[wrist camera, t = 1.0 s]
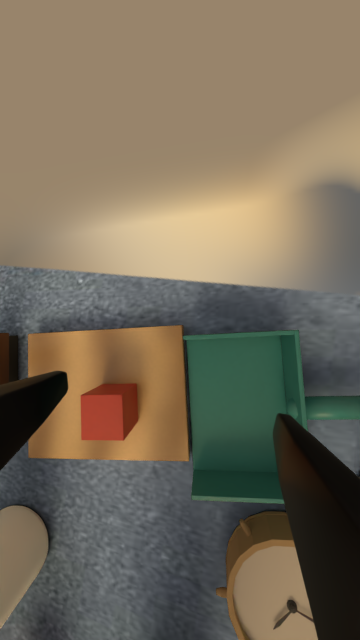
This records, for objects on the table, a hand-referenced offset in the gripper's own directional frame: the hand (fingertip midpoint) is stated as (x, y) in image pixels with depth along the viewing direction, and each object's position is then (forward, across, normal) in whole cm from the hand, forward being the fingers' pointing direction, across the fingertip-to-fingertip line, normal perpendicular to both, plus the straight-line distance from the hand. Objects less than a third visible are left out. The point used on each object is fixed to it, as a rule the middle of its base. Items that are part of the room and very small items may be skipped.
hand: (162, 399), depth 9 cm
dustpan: (+13, -9, +8) cm, 18 cm away
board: (+12, +10, +10) cm, 18 cm away
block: (+10, +7, +10) cm, 16 cm away
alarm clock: (+9, -13, +24) cm, 28 cm away
